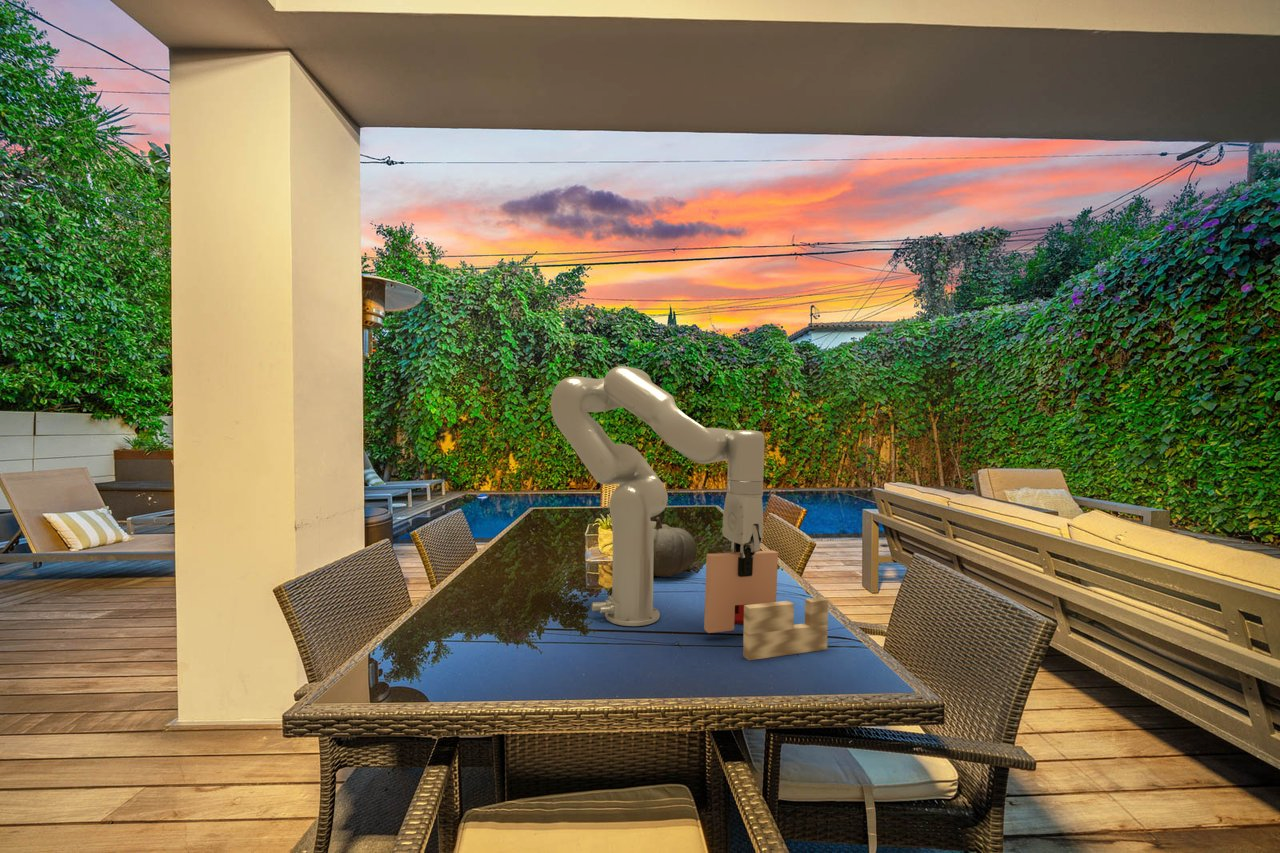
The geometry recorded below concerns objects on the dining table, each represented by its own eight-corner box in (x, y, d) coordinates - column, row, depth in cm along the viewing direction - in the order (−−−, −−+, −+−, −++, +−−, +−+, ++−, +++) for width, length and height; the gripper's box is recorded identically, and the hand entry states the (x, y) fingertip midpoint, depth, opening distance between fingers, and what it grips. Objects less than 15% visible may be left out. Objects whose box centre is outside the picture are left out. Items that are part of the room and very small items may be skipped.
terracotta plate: (775, 625, 124) (778, 552, 123) (708, 632, 119) (710, 556, 118) (770, 622, 126) (773, 550, 125) (704, 629, 120) (706, 553, 120)
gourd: (602, 571, 162) (611, 510, 164) (619, 564, 186) (627, 511, 188) (689, 586, 157) (698, 523, 159) (695, 577, 181) (702, 523, 184)
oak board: (748, 660, 110) (749, 608, 110) (743, 656, 112) (743, 605, 111) (827, 649, 116) (827, 600, 115) (821, 645, 117) (821, 597, 117)
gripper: (712, 483, 128) (709, 565, 128) (747, 493, 113) (744, 586, 113) (742, 483, 130) (739, 563, 130) (780, 493, 115) (777, 584, 115)
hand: (741, 573), depth 122 cm, fingers closed on terracotta plate, 2 cm apart
